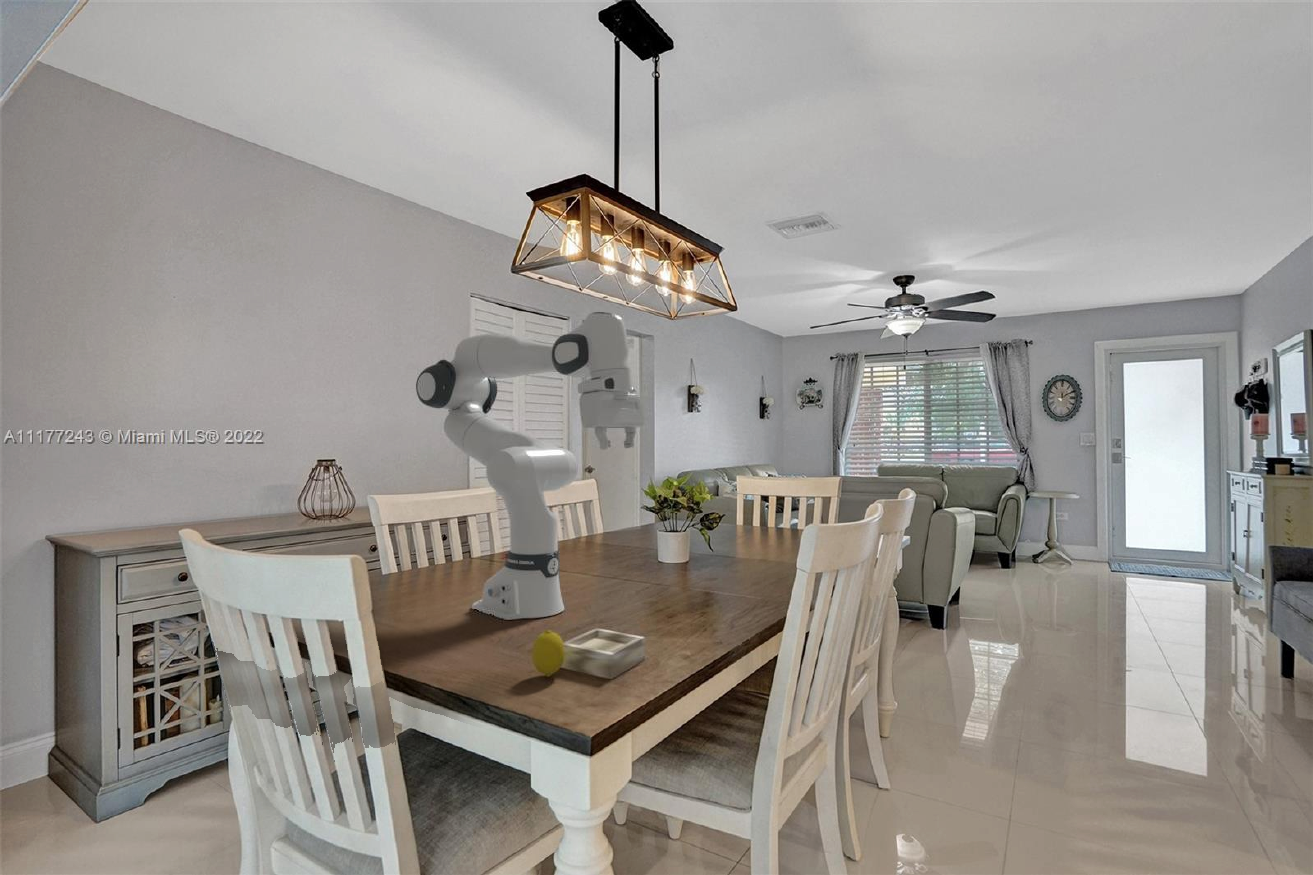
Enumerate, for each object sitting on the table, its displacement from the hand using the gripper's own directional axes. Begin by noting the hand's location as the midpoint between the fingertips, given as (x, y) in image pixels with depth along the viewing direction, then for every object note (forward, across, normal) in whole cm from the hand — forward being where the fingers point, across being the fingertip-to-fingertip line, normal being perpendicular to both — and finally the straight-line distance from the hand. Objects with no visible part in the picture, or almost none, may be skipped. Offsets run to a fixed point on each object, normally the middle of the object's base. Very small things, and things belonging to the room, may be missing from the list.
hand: (617, 448), depth 138 cm
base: (+39, +20, +6) cm, 45 cm away
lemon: (+39, +30, +1) cm, 49 cm away
